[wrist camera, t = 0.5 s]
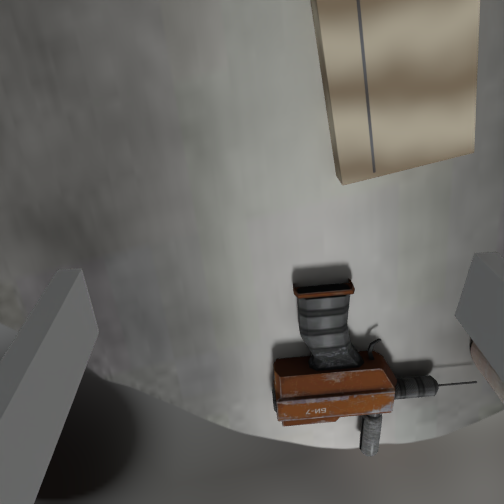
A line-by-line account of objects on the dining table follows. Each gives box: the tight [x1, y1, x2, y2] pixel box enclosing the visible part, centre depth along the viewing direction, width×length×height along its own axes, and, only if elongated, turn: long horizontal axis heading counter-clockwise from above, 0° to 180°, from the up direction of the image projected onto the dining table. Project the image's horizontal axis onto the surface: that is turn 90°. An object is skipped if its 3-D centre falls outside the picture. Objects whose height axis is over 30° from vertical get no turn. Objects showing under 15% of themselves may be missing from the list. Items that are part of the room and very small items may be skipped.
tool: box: [272, 279, 477, 456], centre depth 53 cm, size 4×27×30 cm
